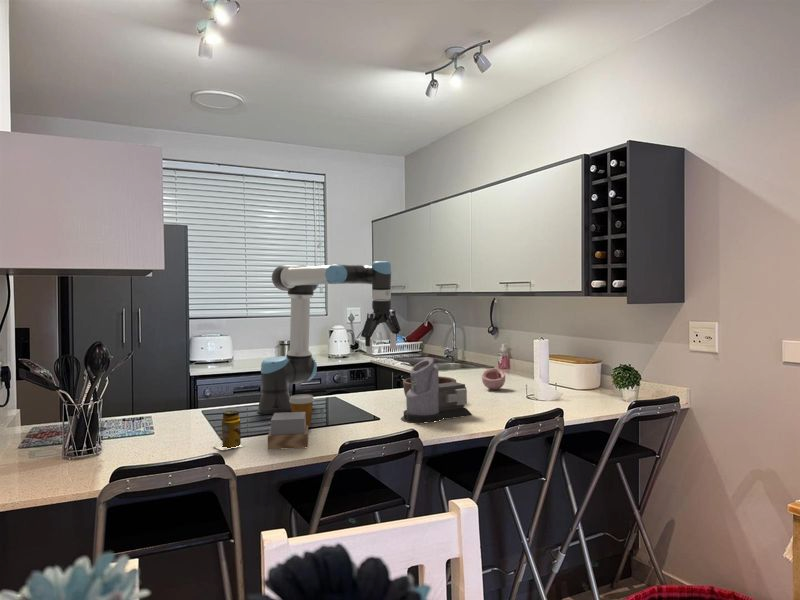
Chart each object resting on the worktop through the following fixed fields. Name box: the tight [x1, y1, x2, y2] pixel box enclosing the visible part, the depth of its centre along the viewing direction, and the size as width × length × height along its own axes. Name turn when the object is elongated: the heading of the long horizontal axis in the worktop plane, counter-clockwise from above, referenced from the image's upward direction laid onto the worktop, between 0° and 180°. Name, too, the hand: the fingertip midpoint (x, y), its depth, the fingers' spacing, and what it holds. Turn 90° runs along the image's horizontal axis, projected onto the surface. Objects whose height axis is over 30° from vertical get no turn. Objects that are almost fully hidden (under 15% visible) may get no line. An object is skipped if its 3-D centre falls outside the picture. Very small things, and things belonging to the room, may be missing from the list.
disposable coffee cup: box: [289, 393, 315, 429], centre depth 213 cm, size 10×10×12 cm
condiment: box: [221, 410, 242, 448], centre depth 188 cm, size 7×8×12 cm
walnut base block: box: [267, 425, 309, 450], centre depth 191 cm, size 13×13×5 cm
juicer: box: [400, 357, 473, 424], centre depth 227 cm, size 30×16×24 cm, turn 119°
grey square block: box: [270, 411, 306, 435], centre depth 191 cm, size 11×11×5 cm
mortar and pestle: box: [481, 367, 506, 391], centre depth 286 cm, size 12×12×12 cm
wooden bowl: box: [402, 375, 457, 397], centre depth 258 cm, size 25×25×10 cm
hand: (381, 351), depth 224 cm, fingers open, 13 cm apart
